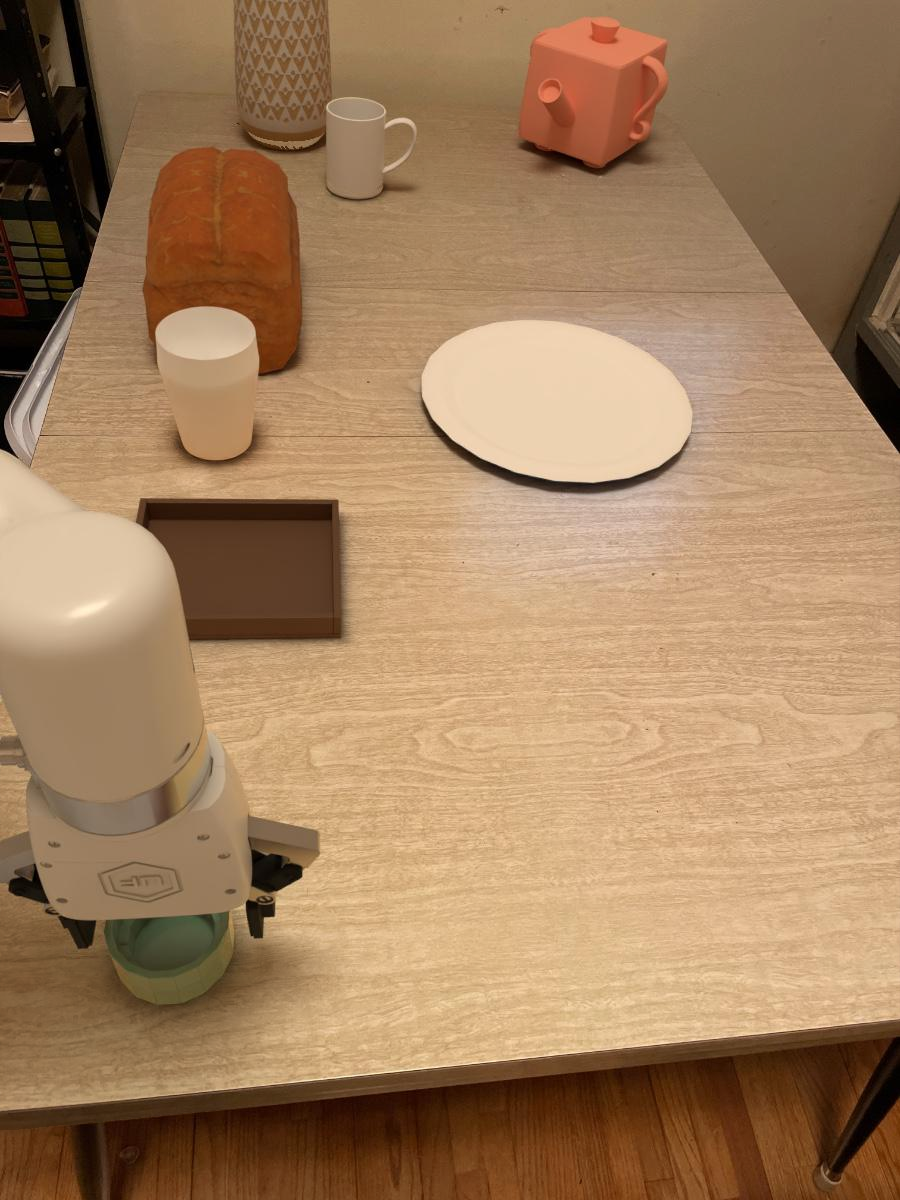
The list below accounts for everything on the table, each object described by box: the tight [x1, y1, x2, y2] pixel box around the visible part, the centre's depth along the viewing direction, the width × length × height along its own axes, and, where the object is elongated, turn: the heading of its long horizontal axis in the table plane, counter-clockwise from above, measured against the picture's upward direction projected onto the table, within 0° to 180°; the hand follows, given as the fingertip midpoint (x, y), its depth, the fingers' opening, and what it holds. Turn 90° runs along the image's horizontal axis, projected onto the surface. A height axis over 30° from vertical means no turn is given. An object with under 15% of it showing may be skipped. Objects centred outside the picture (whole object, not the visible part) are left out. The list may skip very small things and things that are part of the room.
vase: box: [232, 0, 333, 151], centre depth 133 cm, size 14×14×31 cm
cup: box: [155, 306, 259, 461], centre depth 90 cm, size 9×9×12 cm
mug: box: [325, 96, 418, 200], centre depth 131 cm, size 12×8×10 cm, turn 88°
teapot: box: [518, 16, 669, 169], centre depth 143 cm, size 25×23×18 cm
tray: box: [135, 497, 342, 640], centre depth 81 cm, size 17×14×2 cm
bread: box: [141, 146, 303, 374], centre depth 105 cm, size 16×27×16 cm, turn 8°
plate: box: [420, 319, 694, 485], centre depth 103 cm, size 29×29×2 cm
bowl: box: [103, 910, 235, 1006], centre depth 58 cm, size 7×7×4 cm
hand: (174, 919), depth 56 cm, fingers open, 9 cm apart
